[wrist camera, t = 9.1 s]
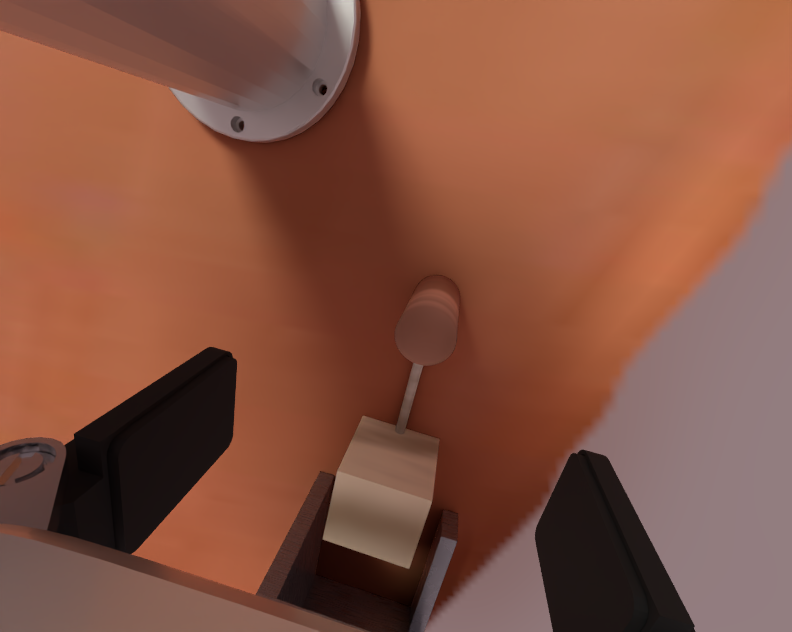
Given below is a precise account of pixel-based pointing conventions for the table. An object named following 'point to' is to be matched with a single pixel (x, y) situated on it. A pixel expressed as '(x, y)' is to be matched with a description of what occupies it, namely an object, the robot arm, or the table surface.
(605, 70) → the table surface
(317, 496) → the block
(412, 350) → the corded block
